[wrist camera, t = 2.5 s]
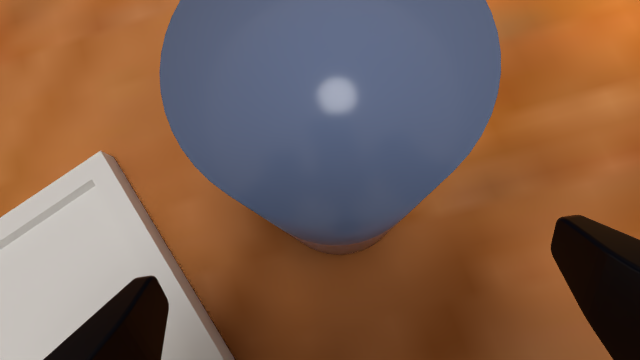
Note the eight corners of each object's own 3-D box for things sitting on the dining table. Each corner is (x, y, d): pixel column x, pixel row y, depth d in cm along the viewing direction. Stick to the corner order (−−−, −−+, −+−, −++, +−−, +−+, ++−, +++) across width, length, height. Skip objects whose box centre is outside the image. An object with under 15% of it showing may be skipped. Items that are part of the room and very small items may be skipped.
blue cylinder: (335, 282, 19) (315, 304, 6) (252, 189, 20) (96, 53, 8) (427, 193, 20) (577, 52, 7) (340, 110, 21) (332, -135, 8)
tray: (240, 368, 18) (233, 375, 17) (-3, 551, 17) (-29, 572, 16) (113, 157, 21) (100, 150, 20) (-100, 301, 20) (-127, 302, 19)
